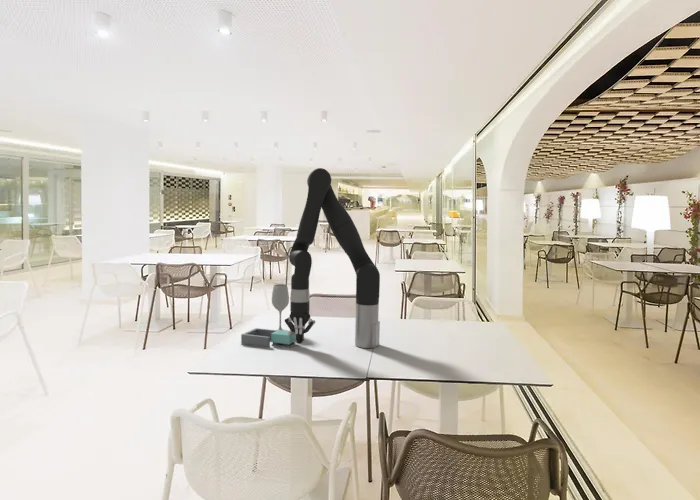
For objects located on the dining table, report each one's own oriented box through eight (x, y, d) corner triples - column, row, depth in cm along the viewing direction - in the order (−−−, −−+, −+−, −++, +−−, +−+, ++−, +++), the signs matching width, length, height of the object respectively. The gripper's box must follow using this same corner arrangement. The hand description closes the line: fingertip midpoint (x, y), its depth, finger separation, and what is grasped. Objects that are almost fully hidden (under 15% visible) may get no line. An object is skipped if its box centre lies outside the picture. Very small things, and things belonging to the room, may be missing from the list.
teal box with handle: (295, 344, 197) (295, 328, 196) (289, 348, 191) (289, 331, 190) (278, 342, 199) (278, 326, 199) (271, 345, 193) (271, 329, 193)
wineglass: (290, 330, 219) (290, 284, 217) (286, 334, 211) (286, 286, 209) (274, 329, 219) (274, 283, 218) (269, 333, 212) (269, 286, 210)
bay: (281, 340, 202) (281, 330, 201) (268, 347, 191) (268, 337, 190) (255, 337, 206) (256, 328, 205) (241, 344, 195) (241, 334, 194)
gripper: (319, 299, 192) (318, 342, 194) (289, 297, 197) (288, 338, 198) (311, 302, 185) (311, 347, 187) (280, 300, 190) (280, 343, 191)
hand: (299, 342), depth 192 cm, fingers closed
